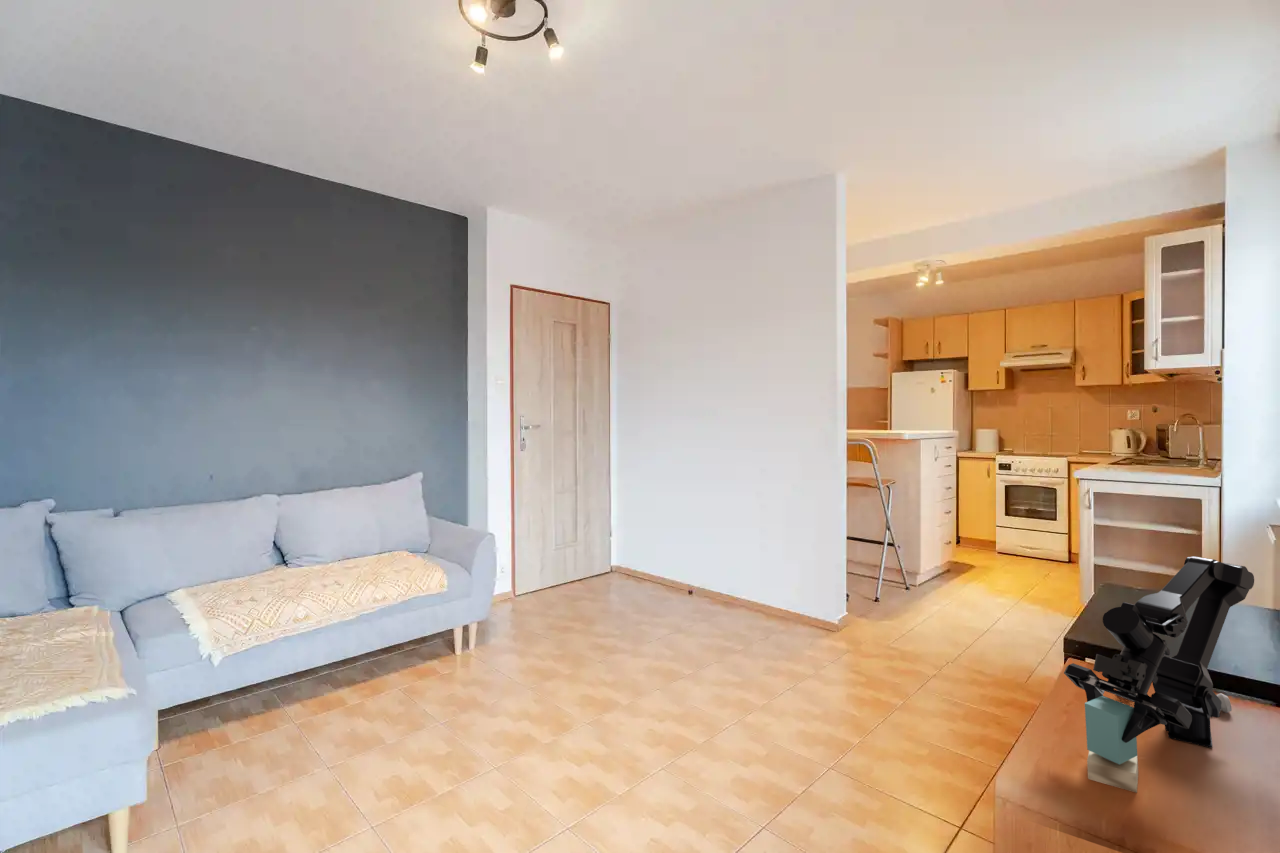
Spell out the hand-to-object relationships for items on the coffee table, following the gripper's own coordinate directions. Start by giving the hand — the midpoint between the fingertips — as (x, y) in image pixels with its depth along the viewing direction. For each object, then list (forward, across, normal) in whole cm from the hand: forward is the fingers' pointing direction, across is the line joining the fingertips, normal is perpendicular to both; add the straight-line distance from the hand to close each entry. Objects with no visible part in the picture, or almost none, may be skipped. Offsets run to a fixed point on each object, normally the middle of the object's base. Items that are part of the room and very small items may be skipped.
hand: (1106, 733), depth 111 cm
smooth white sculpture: (-23, -4, +35) cm, 42 cm away
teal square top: (+2, 0, +4) cm, 4 cm away
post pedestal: (+5, 0, +7) cm, 9 cm away
